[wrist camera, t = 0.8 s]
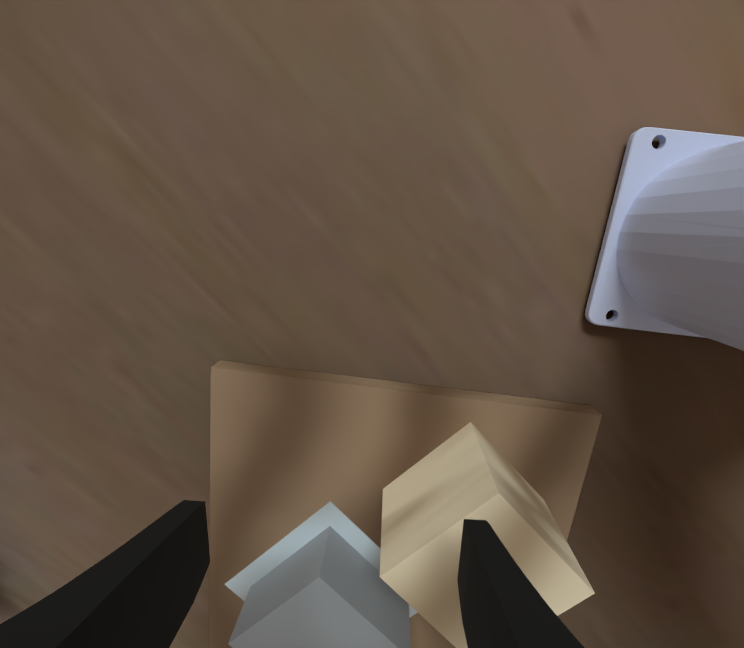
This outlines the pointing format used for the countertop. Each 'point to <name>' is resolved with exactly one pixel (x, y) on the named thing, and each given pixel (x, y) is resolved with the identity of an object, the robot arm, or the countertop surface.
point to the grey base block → (323, 602)
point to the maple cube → (445, 525)
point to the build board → (355, 465)
